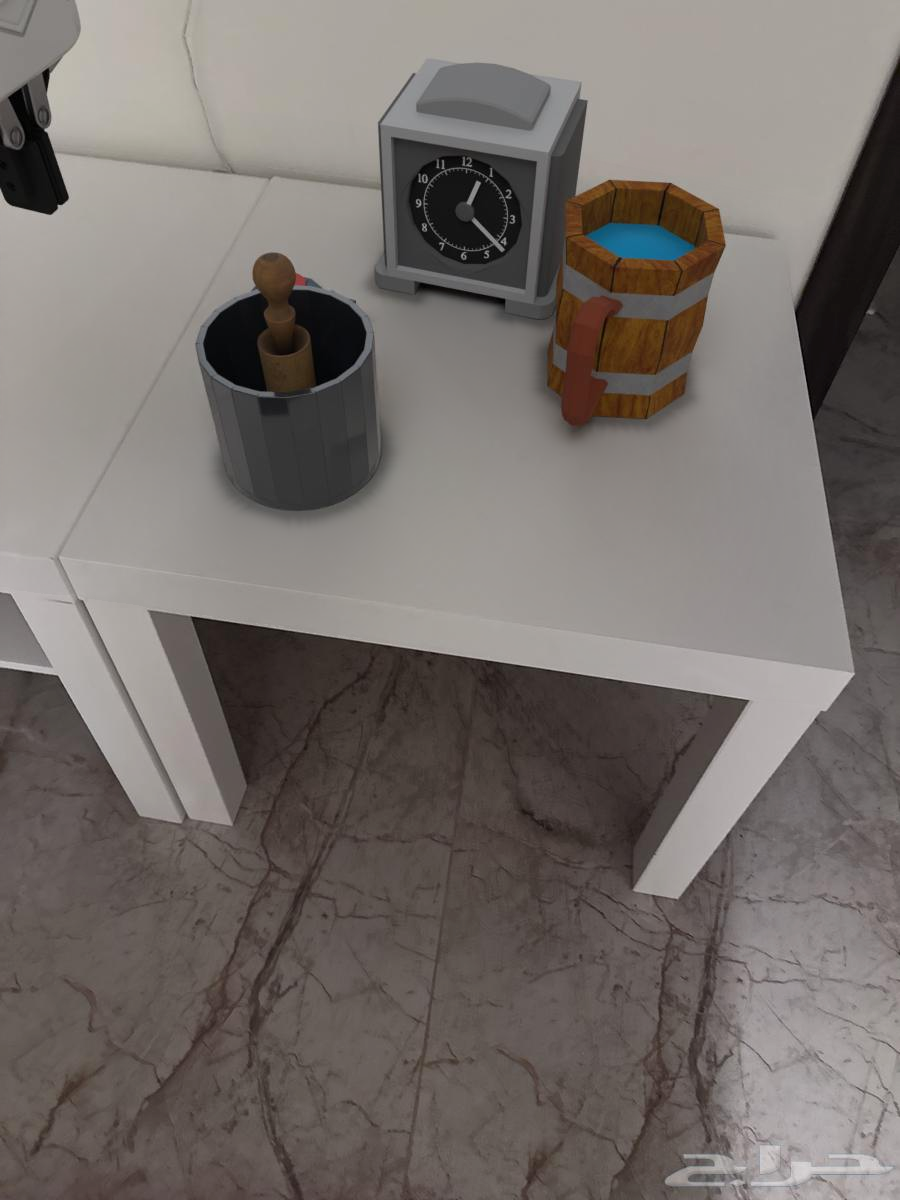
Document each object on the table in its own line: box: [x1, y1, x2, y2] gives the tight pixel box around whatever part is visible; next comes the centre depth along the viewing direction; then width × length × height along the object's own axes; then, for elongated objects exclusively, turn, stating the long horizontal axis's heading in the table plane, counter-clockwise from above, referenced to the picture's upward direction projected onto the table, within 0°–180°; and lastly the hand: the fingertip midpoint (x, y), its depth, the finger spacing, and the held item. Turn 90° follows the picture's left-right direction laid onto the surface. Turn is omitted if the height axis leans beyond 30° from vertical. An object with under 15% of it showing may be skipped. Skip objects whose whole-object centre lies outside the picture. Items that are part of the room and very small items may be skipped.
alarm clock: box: [374, 57, 589, 320], centre depth 88 cm, size 18×13×18 cm
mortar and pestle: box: [252, 251, 316, 392], centre depth 71 cm, size 7×6×18 cm
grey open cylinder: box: [194, 285, 382, 511], centre depth 74 cm, size 13×13×12 cm
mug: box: [546, 179, 727, 427], centre depth 78 cm, size 20×14×15 cm
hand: (38, 202), depth 53 cm, fingers closed
